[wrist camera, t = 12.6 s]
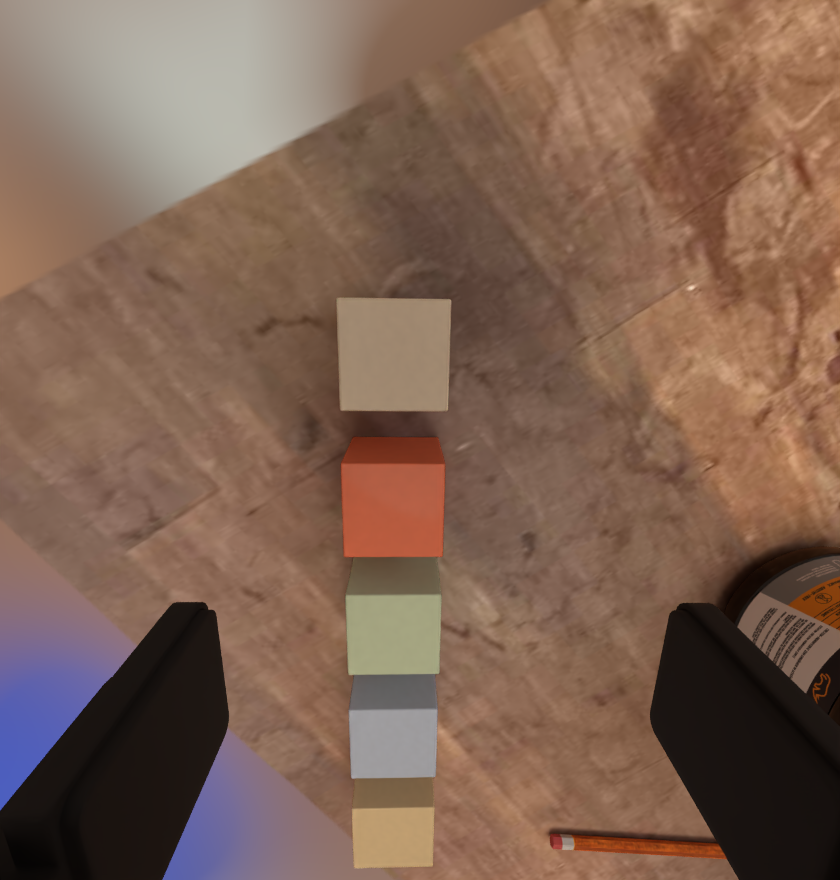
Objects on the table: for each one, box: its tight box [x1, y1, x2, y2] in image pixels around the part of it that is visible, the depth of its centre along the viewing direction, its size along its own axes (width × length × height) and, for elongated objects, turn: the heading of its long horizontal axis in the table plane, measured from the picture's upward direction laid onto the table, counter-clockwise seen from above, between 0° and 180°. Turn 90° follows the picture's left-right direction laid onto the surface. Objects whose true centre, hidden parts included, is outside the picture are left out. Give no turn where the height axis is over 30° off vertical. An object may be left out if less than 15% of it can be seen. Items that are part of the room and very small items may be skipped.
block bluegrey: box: [349, 674, 438, 779], centre depth 26 cm, size 5×5×5 cm
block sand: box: [352, 777, 434, 868], centre depth 28 cm, size 5×5×5 cm
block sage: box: [345, 557, 442, 675], centre depth 24 cm, size 5×5×5 cm
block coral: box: [341, 437, 445, 557], centre depth 23 cm, size 5×5×5 cm
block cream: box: [336, 298, 451, 412], centre depth 21 cm, size 5×5×5 cm
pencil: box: [550, 834, 727, 859], centre depth 32 cm, size 1×18×1 cm, turn 84°
